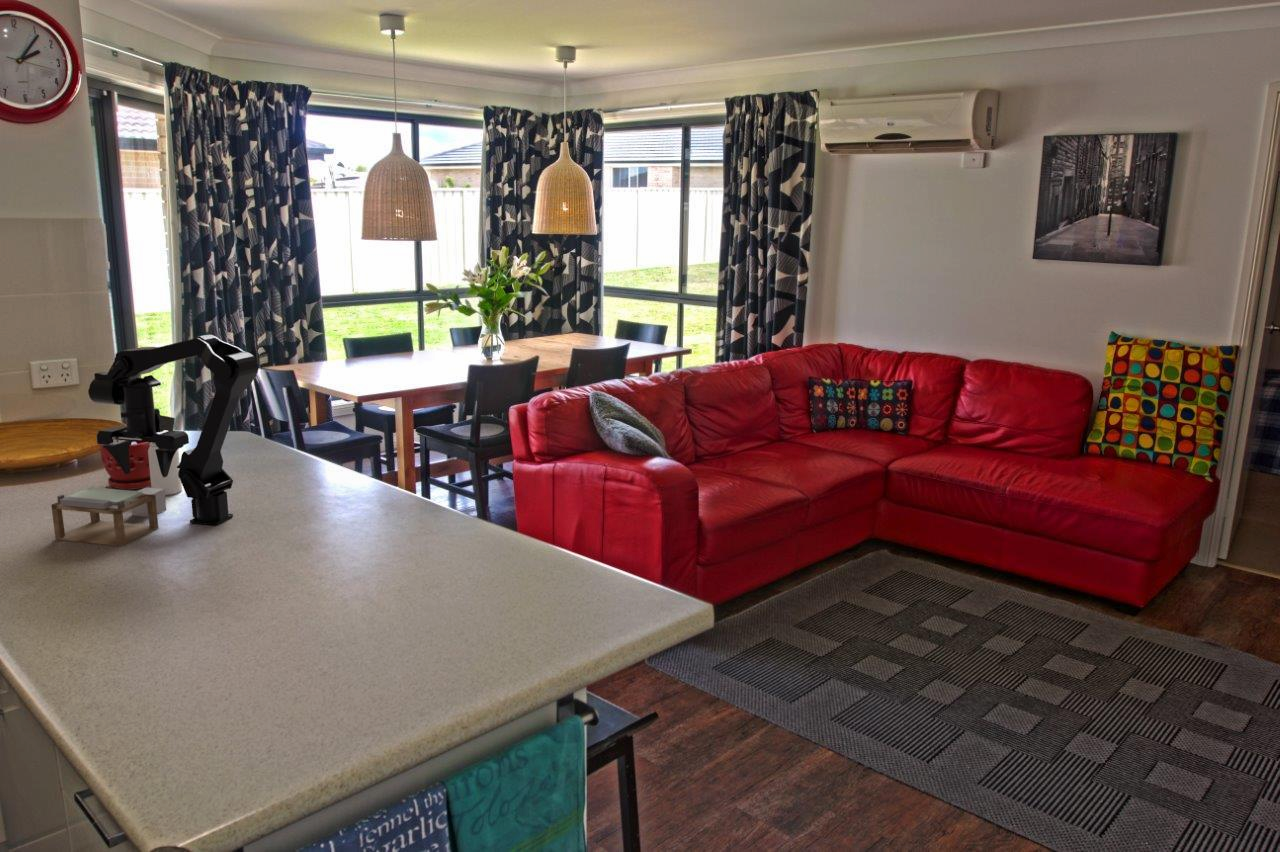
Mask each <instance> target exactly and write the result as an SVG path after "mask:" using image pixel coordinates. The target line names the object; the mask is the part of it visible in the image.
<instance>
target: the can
mask: <svg viewBox="0 0 1280 852" xmlns="http://www.w3.org/2000/svg"><path fill="white" fill-rule="evenodd" d="M149 445H150V447H149V450H148V457H149V468H150V478H151V487H150V488H158V489H164V490H165V497H166V496H173V495H177V494H179V493H180V492H181V491H182V490H183V485H182V483H181V480H180V478H179V477H178V472H179V469H180V468H177V466H178V465H179V464H180V462H181V458H180V451H179V449H180V448H179V449H178V450H177V451H176V452H175V454H174V457H173V459H172V462H171V466H170V469H169V472H168V476H167V477H163V476H162V474H161V471H160V467H159V463H158V459H157V455H156V451H155V450H156V449H159V448H158V447H157V446H156V444H155V443H153V442H152V443H150V444H149Z"/></svg>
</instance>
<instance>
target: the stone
mask: <svg viewBox="0 0 1280 852" xmlns="http://www.w3.org/2000/svg"><path fill="white" fill-rule="evenodd" d="M138 491H140V492H143V494H150V495H155V497H156V507H157V515H159V514H162V513H163V512H165V511H167V502H166V496H165V490H164V489H158V488H151V487H145V488H140V489H138ZM136 500H139V499H131V500H130V501H131V502H130V503H132V502H134V501H136ZM131 510H132V512H131V514H132V516H134V517H135V516H137V517H145V518H147V517H148V508H147V503H145V504H142V505H140V506H138V507H135V508H133V509H131Z"/></svg>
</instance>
